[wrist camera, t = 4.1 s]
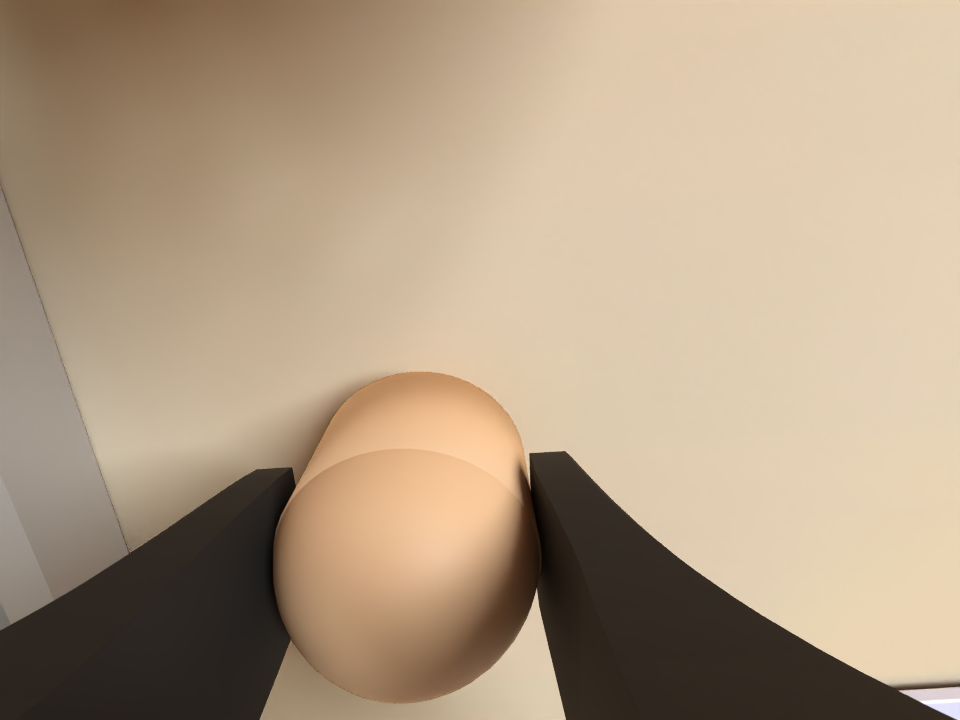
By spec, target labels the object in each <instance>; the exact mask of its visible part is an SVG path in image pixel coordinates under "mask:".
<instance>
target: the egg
mask: <svg viewBox="0 0 960 720" xmlns="http://www.w3.org/2000/svg"><path fill="white" fill-rule="evenodd" d="M541 558H542V556H541V546H540V539H539V534H538V529H537V523H536V518H535V512H534V506H533V501H532V495H531V489H530V484H529V478H528V473H527V467H526V462H525V456H524V450H523V446H522V442H521V438H520V435H519V433H518V431H517V428H516V426H515V424H514V423H513V421H512V419H511V418H510V416H509V415H508V413H507V412H506V411H505V410H504V409H503V407H502V406H501V405H500V404H499V403H498V402H497V401H496V400H495V399H494V398H492V397H491V396H490V395H489V394H487V393H486V392H484V391H483V390H482V389H480V388H478V387H476V386H475V385H473V384H471V383H469V382H467V381H464V380H461V379H459V378H456V377H453V376H449V375H445V374H440V373H432V372H409V373H401V374H396V375H392V376H388V377H385V378H382V379H380V380H377V381H374V382H372V383H370V384H369V385H367V386H365V387H363V388H361V389H360V390H359V391H357V392H356V393H355V394H353V395H352V396H351V397H350V398H349V399H348V400H347V401H346V402H345V403H344V404H343V405H342V406H341V407H340V408H339V410H338V411H337V412H336V413H335V415H334V416H333V418H332V420H331V422H330V424H329V426H328V427H327V429H326V431H325V433H324V435H323V437H322V439H321V441H320V443H319V445H318V446H317V448H316V450H315V452H314V454H313V456H312V458H311V460H310V462H309V463H308V465H307V467H306V469H305V471H304V473H303V475H302V477H301V479H300V481H299V482H298V484H297V486H296V488H295V490H294V492H293V494H292V496H291V498H290V499H289V501H288V503H287V505H286V507H285V509H284V511H283V513H282V515H281V517H280V520H279V523H278V525H277V528H276V533H275V538H274V544H273V584H274V590H275V596H276V601H277V605H278V609H279V612H280V615H281V618H282V621H283V623H284V625H285V627H286V629H287V632H288V634H289V636H290V637H291V639H292V641H293V643H294V644H295V646H296V647H297V649H298V650H299V652H300V653H301V654H302V655H303V657H304V658H305V659H306V660H307V661H308V662H309V663H310V665H311V666H312V667H313V668H314V669H315V670H316V671H317V672H319V673H320V674H321V675H322V676H323V677H325V678H326V679H328V680H329V681H331V682H332V683H334V684H335V685H337V686H339V687H340V688H342V689H344V690H346V691H348V692H350V693H352V694H355V695H358V696H360V697H363V698H367V699H370V700H375V701H380V702H388V703H413V702H421V701H426V700H431V699H434V698H437V697H440V696H443V695H446V694H449V693H452V692H454V691H456V690H458V689H461V688H462V687H464V686H466V685H468V684H469V683H471V682H472V681H474V680H475V679H476V678H478V677H479V676H480V675H482V674H483V673H485V672H486V671H487V670H489V669H490V668H491V667H492V666H493V665H494V664H495V663H496V662H497V661H498V660H499V659H500V658H501V656H502V655H503V654H504V653H505V652H506V650H507V649H508V648H509V647H510V645H511V644H512V643H513V642H514V640H515V638H516V637H517V635H518V633H519V631H520V630H521V628H522V626H523V624H524V622H525V621H526V619H527V616H528V614H529V611H530V608H531V606H532V603H533V599H534V596H535V592H536V588H537V585H538V581H539V577H540V572H541Z"/></svg>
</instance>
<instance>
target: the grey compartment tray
mask: <svg viewBox="0 0 960 720" xmlns="http://www.w3.org/2000/svg"><path fill="white" fill-rule="evenodd" d="M128 554H129V552H128V549H127V546H126V543H125V541H124V538H123V535H122V532H121V529H120V526H119V523H118V521H117V518H116V515H115V512H114V509H113V506H112V503H111V501H110V498H109V495H108V492H107V489H106V486H105V483H104V481H103V478H102V475H101V472H100V469H99V466H98V463H97V461H96V458H95V455H94V452H93V449H92V446H91V443H90V441H89V438H88V435H87V432H86V429H85V426H84V423H83V421H82V418H81V415H80V412H79V409H78V406H77V403H76V401H75V398H74V395H73V392H72V389H71V386H70V383H69V381H68V378H67V375H66V372H65V369H64V366H63V363H62V361H61V358H60V355H59V352H58V349H57V346H56V343H55V341H54V338H53V335H52V332H51V329H50V326H49V323H48V320H47V318H46V315H45V312H44V309H43V306H42V303H41V300H40V298H39V295H38V292H37V289H36V286H35V283H34V280H33V278H32V275H31V272H30V269H29V266H28V263H27V260H26V258H25V255H24V252H23V249H22V246H21V243H20V240H19V238H18V235H17V232H16V229H15V226H14V223H13V220H12V218H11V215H10V212H9V209H8V206H7V203H6V200H5V198H4V195H3V192H2V189H1V186H0V630H2V629H4V628H6V627H7V626H9V625H11V624H13V623H15V622H16V621H18V620H20V619H22V618H24V617H26V616H27V615H29V614H31V613H33V612H35V611H36V610H38V609H40V608H42V607H43V606H45V605H47V604H49V603H50V602H52V601H54V600H56V599H57V598H59V597H61V596H62V595H64V594H66V593H68V592H69V591H71V590H73V589H74V588H76V587H78V586H79V585H81V584H83V583H84V582H86V581H87V580H89V579H90V578H92V577H94V576H95V575H97V574H98V573H100V572H101V571H103V570H104V569H106V568H108V567H109V566H111V565H112V564H114V563H115V562H117V561H119V560H120V559H122V558H123V557H125V556H126V555H128Z"/></svg>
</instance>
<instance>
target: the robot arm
mask: <svg viewBox="0 0 960 720" xmlns="http://www.w3.org/2000/svg"><path fill="white" fill-rule="evenodd" d="M529 455H530V488H531V495H532V501H533V506H534V512H535V518H536V523H537V529H538V534H539V539H540V546H541V556H542V558H541V572H540V577H539V581H538V585H537V592H538V600H539V607H540V611H541V616H542V620H543V624H544V629H545V633H546V637H547V641H548V646H549V650H550V654H551V658H552V662H553V667H554V671H555V675H556V679H557V683H558V688H559V692H560V696H561V700H562V704H563V708H564V713H565V717H566V720H960V687H950V688H933V689H916V690H899V691H898V690H896V689H894V688H892V687H890V686H888V685H886V684H884V683H882V682H880V681H878V680H876V679H874V678H872V677H870V676H868V675H866V674H864V673H862V672H860V671H858V670H857V669H855V668H853V667H851V666H849V665H847V664H846V663H844V662H842V661H840V660H838V659H836V658H834V657H833V656H831V655H829V654H827V653H825V652H823V651H822V650H820V649H818V648H816V647H814V646H813V645H811V644H809V643H808V642H806V641H804V640H803V639H801V638H799V637H798V636H796V635H794V634H792V633H791V632H789V631H787V630H786V629H784V628H782V627H781V626H779V625H777V624H776V623H774V622H772V621H771V620H769V619H767V618H765V617H764V616H762V615H761V614H759V613H757V612H756V611H754V610H753V609H751V608H750V607H748V606H746V605H745V604H743V603H742V602H740V601H739V600H737V599H736V598H734V597H733V596H731V595H730V594H728V593H727V592H725V591H724V590H723V589H721V588H720V587H718V586H717V585H715V584H714V583H713V582H711V581H710V580H708V579H707V578H705V577H704V576H702V575H701V574H700V573H698V572H697V571H695V570H694V569H693V568H691V567H690V566H689V565H687V564H686V563H685V562H683V561H682V560H681V559H679V558H678V557H677V556H675V555H674V554H673V553H672V552H671V551H669V550H668V549H667V548H666V547H664V546H663V545H662V544H661V543H660V542H658V541H657V540H656V539H655V538H653V537H652V536H651V535H650V534H649V533H648V532H647V531H645V530H644V529H643V528H642V527H641V526H640V525H639V524H637V523H636V522H635V521H634V520H633V519H632V518H631V517H630V516H629V515H628V514H627V513H626V512H625V511H624V510H623V509H621V508H620V507H619V506H618V505H617V504H616V503H615V502H614V501H613V500H612V499H611V498H610V497H609V496H608V495H607V494H606V493H605V492H604V491H603V490H602V489H601V488H600V487H599V486H598V485H597V484H596V483H595V482H594V481H593V480H592V479H591V478H590V477H589V475H588V474H587V473H586V472H585V471H584V470H583V469H582V468H581V467H580V466H579V465H578V464H577V462H576V461H575V460H574V459H573V458H572V457H571V456H570V455H569V454H568V453H567V452H565V451H561V452H544V453H529ZM295 488H296V485H295V480H294V475H293V470H292V467H291V468H274V469H257V470H255V471H253V472H251V473H250V474H248V475H246V476H244V477H243V478H241V479H240V480H238V481H236V482H235V483H233V484H232V485H230V486H229V487H227V488H226V489H224V490H223V491H221V492H220V493H218V494H217V495H216V496H214V497H213V498H211V499H210V500H208V501H207V502H205V503H204V504H202V505H201V506H200V507H198V508H197V509H195V510H194V511H192V512H191V513H189V514H188V515H186V516H185V517H184V518H182V519H181V520H179V521H178V522H176V523H175V524H173V525H172V526H170V527H169V528H167V529H166V530H165V531H163V532H162V533H160V534H159V535H157V536H156V537H154V538H153V539H151V540H150V541H148V542H147V543H145V544H144V545H142V546H140V547H139V548H137V549H136V550H134V551H133V552H131V553H130V554H128V555H126V556H125V557H123V558H122V559H120V560H119V561H117V562H115V563H114V564H112V565H111V566H109V567H108V568H106V569H104V570H103V571H101V572H100V573H98V574H97V575H95V576H94V577H92V578H90V579H89V580H87V581H86V582H84V583H83V584H81V585H79V586H78V587H76V588H74V589H73V590H71V591H69V592H68V593H66V594H64V595H62V596H61V597H59V598H57V599H56V600H54V601H52V602H50V603H49V604H47V605H45V606H43V607H42V608H40V609H38V610H36V611H35V612H33V613H31V614H29V615H27V616H26V617H24V618H22V619H20V620H18V621H16V622H15V623H13V624H11V625H9V626H7V627H6V628H4V629H2V630H0V720H259V719H260V717H261V714H262V712H263V709H264V707H265V704H266V701H267V699H268V696H269V694H270V691H271V689H272V686H273V684H274V681H275V679H276V676H277V674H278V671H279V669H280V666H281V663H282V661H283V658H284V656H285V653H286V650H287V648H288V645H289V643H290V640H291V637H290V636H289V634H288V632H287V629H286V627H285V625H284V623H283V621H282V618H281V615H280V612H279V609H278V605H277V601H276V596H275V590H274V584H273V544H274V538H275V533H276V528H277V525H278V523H279V520H280V517H281V515H282V513H283V511H284V509H285V507H286V505H287V503H288V501H289V499H290V498H291V496H292V494H293V492H294V490H295Z"/></svg>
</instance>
